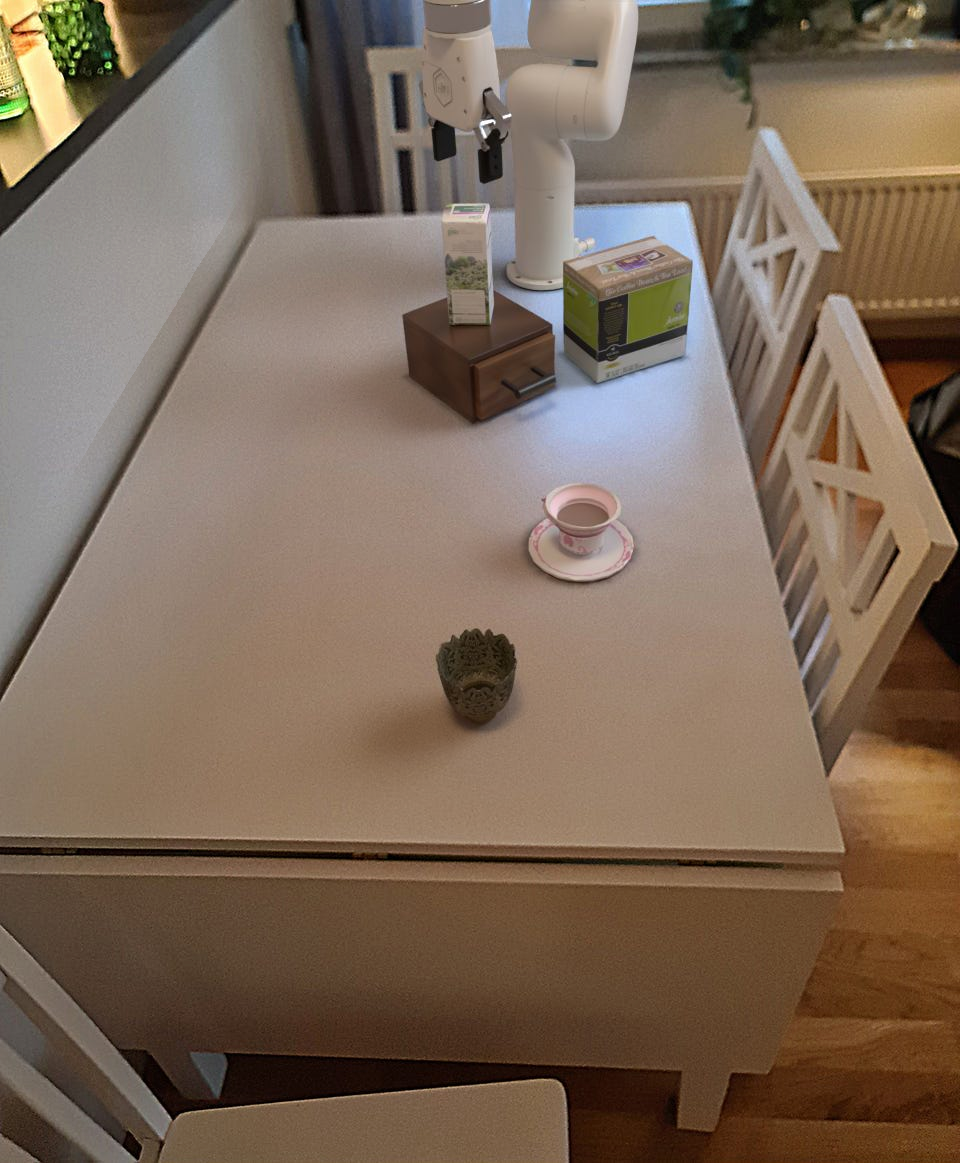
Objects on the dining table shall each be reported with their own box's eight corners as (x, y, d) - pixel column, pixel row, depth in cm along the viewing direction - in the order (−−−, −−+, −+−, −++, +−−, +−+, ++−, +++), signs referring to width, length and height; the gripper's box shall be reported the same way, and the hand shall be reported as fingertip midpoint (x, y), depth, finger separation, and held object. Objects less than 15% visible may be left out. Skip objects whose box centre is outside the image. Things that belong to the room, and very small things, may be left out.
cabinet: (552, 387, 133) (552, 324, 126) (473, 424, 127) (468, 359, 121) (485, 344, 142) (482, 283, 136) (409, 376, 137) (401, 314, 130)
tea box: (647, 328, 143) (655, 232, 133) (686, 357, 137) (697, 259, 127) (560, 354, 139) (561, 257, 129) (595, 386, 133) (599, 287, 122)
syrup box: (494, 305, 131) (490, 200, 121) (490, 327, 126) (485, 219, 116) (453, 305, 131) (445, 200, 121) (448, 327, 127) (439, 220, 117)
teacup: (649, 530, 110) (653, 488, 106) (609, 596, 102) (611, 553, 98) (555, 503, 114) (555, 462, 110) (510, 564, 107) (508, 522, 103)
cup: (440, 685, 95) (433, 630, 89) (514, 678, 95) (511, 623, 89) (444, 746, 89) (438, 691, 84) (522, 738, 89) (521, 683, 84)
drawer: (575, 399, 129) (576, 348, 123) (501, 434, 124) (498, 382, 118) (491, 346, 140) (489, 296, 135) (421, 376, 135) (415, 325, 130)
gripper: (388, 8, 110) (405, 158, 122) (476, 38, 100) (485, 198, 112) (441, -6, 113) (452, 142, 125) (531, 22, 103) (534, 180, 115)
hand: (467, 168), depth 119 cm, fingers open, 9 cm apart
